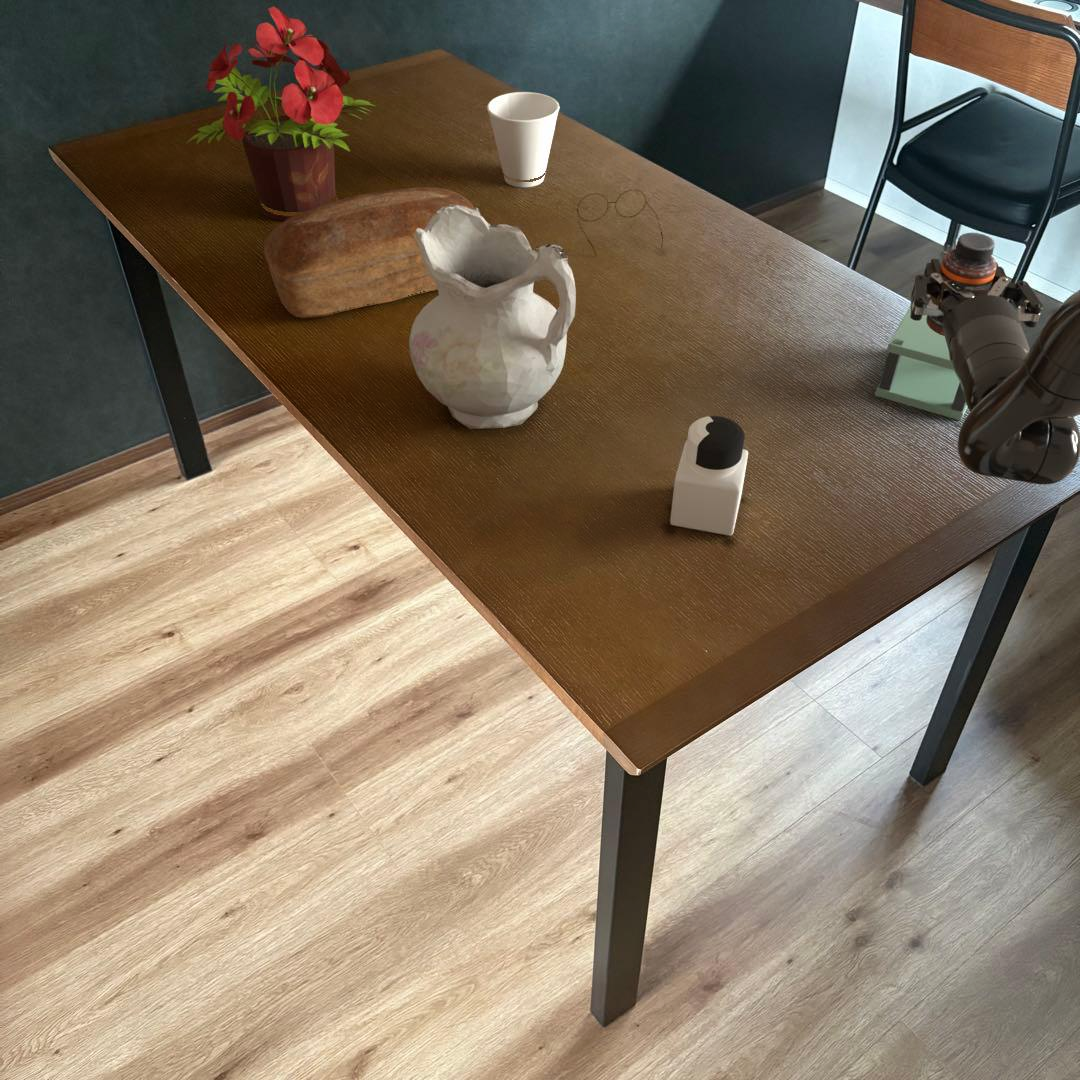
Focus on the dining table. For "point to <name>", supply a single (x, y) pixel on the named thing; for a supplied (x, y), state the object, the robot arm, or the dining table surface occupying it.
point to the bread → (354, 251)
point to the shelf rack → (921, 371)
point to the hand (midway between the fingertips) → (961, 267)
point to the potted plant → (285, 117)
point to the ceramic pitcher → (489, 319)
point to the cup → (523, 134)
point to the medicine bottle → (710, 476)
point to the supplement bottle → (968, 267)
